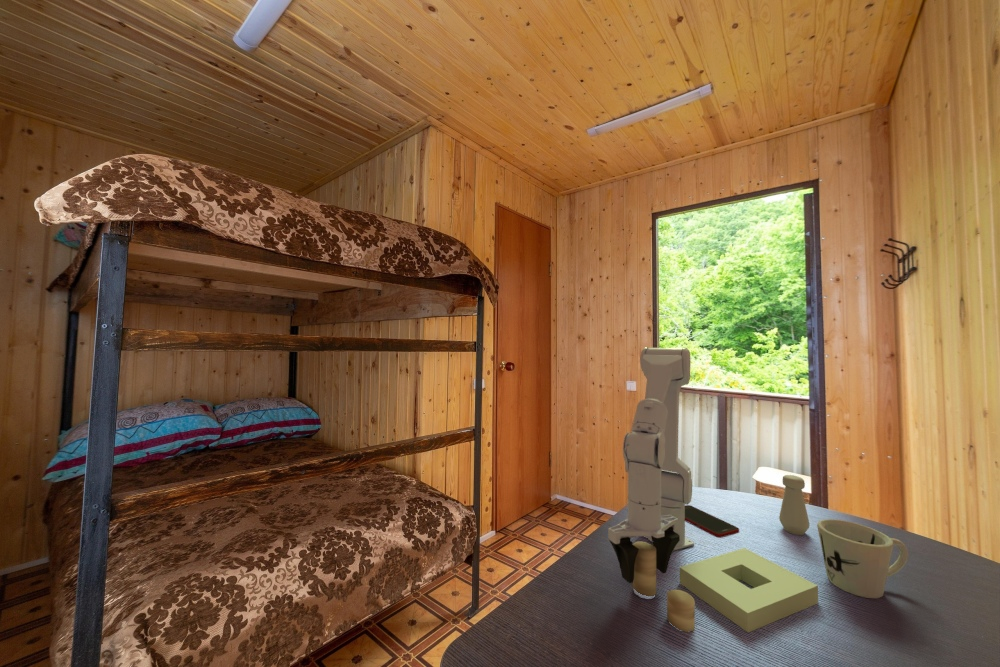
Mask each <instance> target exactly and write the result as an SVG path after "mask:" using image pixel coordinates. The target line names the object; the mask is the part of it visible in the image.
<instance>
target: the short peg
mask: <svg viewBox="0 0 1000 667" xmlns="http://www.w3.org/2000/svg"><path fill="white" fill-rule="evenodd" d="M695 601H696V600H695V599H694V597H693V596H692V595H691V594H690V593H688V592H686V591H684V590H680V589H670V590H668V591H667V593H666V610H667V611H666V620H667V619H668V621H669V622H670V623H671V624H672V625H673V626H675V627H676V628H678V629H679V630H682V631H686V632H685V633H689V632H688V631H692V632H693V631H694V630H695V629H694V628H695V626H696V625H695V624H696V622H695V621H696V619H695V617H696V616H695V612H696V611H695V610H696V609H695V606H696V604H695ZM668 621H667V622H668Z"/></svg>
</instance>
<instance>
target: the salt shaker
mask: <svg viewBox="0 0 1000 667" xmlns="http://www.w3.org/2000/svg"><path fill="white" fill-rule="evenodd" d="M782 485H783V486H784V492H783V497H782V502H781V507H780V512H779V516H778V517H779V518H778V519H779V522H780V524H781V526H782V527H783V530H784V531H785V532H787V533H789V534H792V535H794V536H795V535H796V536H804V535H805V534H806V532H807V531H808V530H809V528H810V520H809V515H808V511H807V506H806V502H805V497H804V492H803V489H805V485H806V483H805V480H804V479H803V478H802V477H800V476H797V475H795V474H794V475H793V474H785V475H784V476H782Z"/></svg>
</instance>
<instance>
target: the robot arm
mask: <svg viewBox="0 0 1000 667" xmlns="http://www.w3.org/2000/svg"><path fill="white" fill-rule="evenodd" d="M639 360H640V361H639V362H640V369H641V372H642V373H643V376H644V377H645V379H646V387H645V393H644V394H645V395H644V399H642V400H640V401H639V402H638V403H637V405H636V408H635V412H634V413H635V414H634V418H633V421H632V425H631V429H630V432H626V433H625V435H624V437H623V442H622V456H623V461H624V471H625V472H626V473H627V518H625V519H624V520H623V521H621V522H619V523H618V524H615V525H614V526H611V527H608V528H607V531H608V532H607V539H608V540H609V542H610V544H611V547H612V548H613V550H614V554H615V555H616V558H617V561H618V564H619V569H620V572H621V577H622V578H623V580H625V581H626V582H627V583H628V584H633V580H634V565H635V560H636V556H637V553H638V551H639V549H638V548H637V547H635V546H634V545H633V541H631V539H633V538H637V537H644V536H645V537H644V538H645V539H647V538H648V539H647V540H649V541H650V542H652V545H653V546H654V547H655V548H656V570H657V571H659V572H660V573H662V574H666V573H667V570H668V566H669V563H670V560H671V557H672V554H673V552H674V551H677V550H681V549H685V548H688V547H692V546H695V542H694V541H692V540H690V539H689V538H687V537H686V521H685V506H686V505H690V503H691V502H692V497H693V496H692V495H693V479H692V471H691V468H690V467H689V465H688V464H686V463H685V462H683V461H682V459H681V458H679V414H680V393H681V390H682V387H683V386H686V385H688V384H690V380H691V352H690V350H689V349H688V347H686V346H685V347H648V346H645V347H643V349H642V350H641V352H640V359H639Z"/></svg>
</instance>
